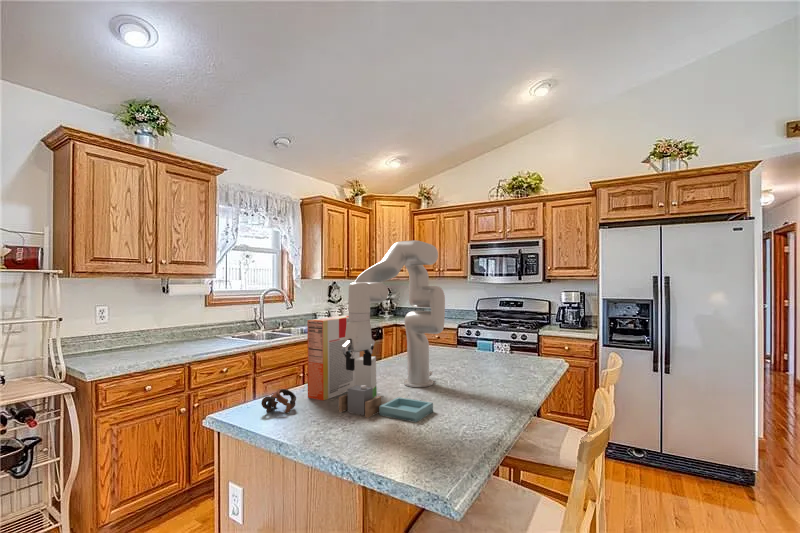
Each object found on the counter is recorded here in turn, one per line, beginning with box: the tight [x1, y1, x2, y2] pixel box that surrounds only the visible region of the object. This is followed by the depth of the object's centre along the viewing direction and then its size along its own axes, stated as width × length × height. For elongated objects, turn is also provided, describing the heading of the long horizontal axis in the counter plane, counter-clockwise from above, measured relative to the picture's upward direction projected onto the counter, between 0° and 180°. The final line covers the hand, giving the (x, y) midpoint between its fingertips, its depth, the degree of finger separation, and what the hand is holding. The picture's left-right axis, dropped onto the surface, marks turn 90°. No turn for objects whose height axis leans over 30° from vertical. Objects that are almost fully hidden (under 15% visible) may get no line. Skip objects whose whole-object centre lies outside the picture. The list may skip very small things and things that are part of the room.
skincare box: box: [355, 356, 378, 398], centre depth 155 cm, size 8×7×16 cm
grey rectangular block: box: [347, 385, 373, 416], centre depth 140 cm, size 5×7×9 cm
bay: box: [338, 393, 383, 419], centre depth 140 cm, size 8×12×5 cm, turn 59°
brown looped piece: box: [260, 388, 297, 414], centre depth 141 cm, size 12×10×8 cm
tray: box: [379, 396, 434, 423], centre depth 137 cm, size 12×14×3 cm
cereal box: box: [307, 314, 361, 401], centre depth 165 cm, size 23×8×30 cm, turn 149°
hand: (359, 367), depth 140 cm, fingers open, 9 cm apart
